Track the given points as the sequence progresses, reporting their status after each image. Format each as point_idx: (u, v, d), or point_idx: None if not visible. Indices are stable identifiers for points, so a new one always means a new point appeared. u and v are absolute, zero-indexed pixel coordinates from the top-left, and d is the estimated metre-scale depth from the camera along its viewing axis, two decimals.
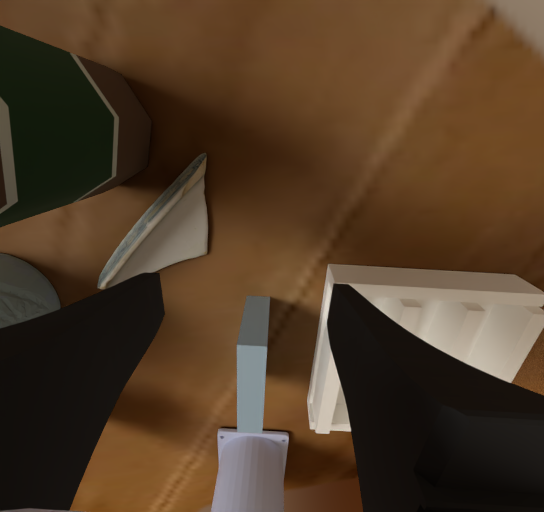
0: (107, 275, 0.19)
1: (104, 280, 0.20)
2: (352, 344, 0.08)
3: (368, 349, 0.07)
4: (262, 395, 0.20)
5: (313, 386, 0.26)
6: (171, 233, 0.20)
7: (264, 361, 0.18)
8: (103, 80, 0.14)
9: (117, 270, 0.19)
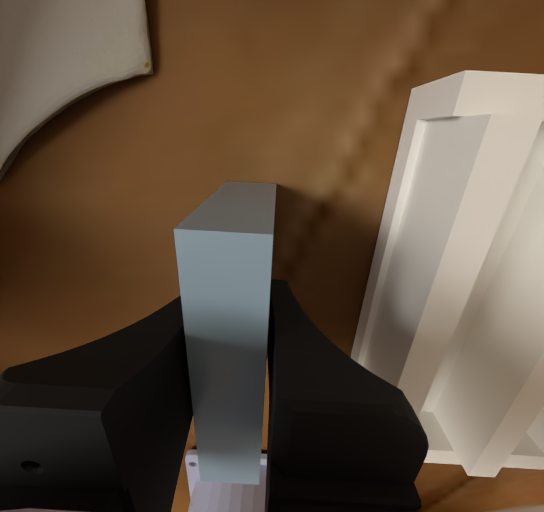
0: None
1: None
2: (272, 339, 0.08)
3: None
4: (259, 395, 0.07)
5: None
6: None
7: (264, 290, 0.06)
8: None
9: None
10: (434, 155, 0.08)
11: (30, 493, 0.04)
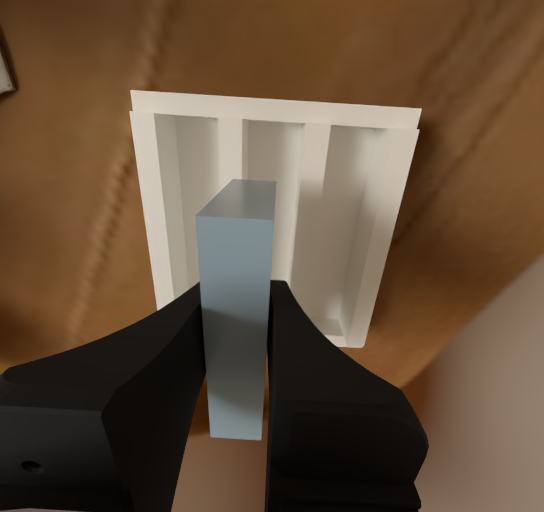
0: None
1: None
2: (272, 339, 0.08)
3: None
4: (261, 357, 0.09)
5: None
6: None
7: (266, 266, 0.07)
8: None
9: None
10: None
11: (30, 493, 0.04)
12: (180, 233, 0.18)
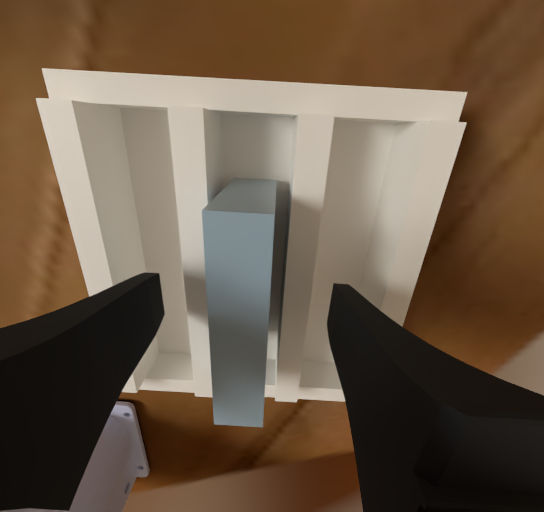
0: None
1: None
2: (352, 344, 0.08)
3: (368, 349, 0.07)
4: (263, 345, 0.09)
5: None
6: None
7: (268, 257, 0.08)
8: None
9: None
10: None
11: None
12: (136, 263, 0.14)
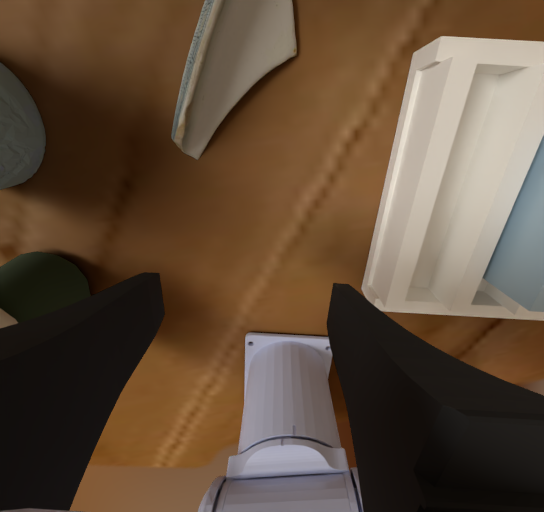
0: (184, 99, 0.14)
1: (181, 109, 0.15)
2: (352, 344, 0.08)
3: (368, 349, 0.07)
4: None
5: (375, 258, 0.20)
6: (248, 20, 0.14)
7: None
8: None
9: (195, 78, 0.14)
10: (426, 88, 0.15)
11: None
12: None
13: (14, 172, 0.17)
